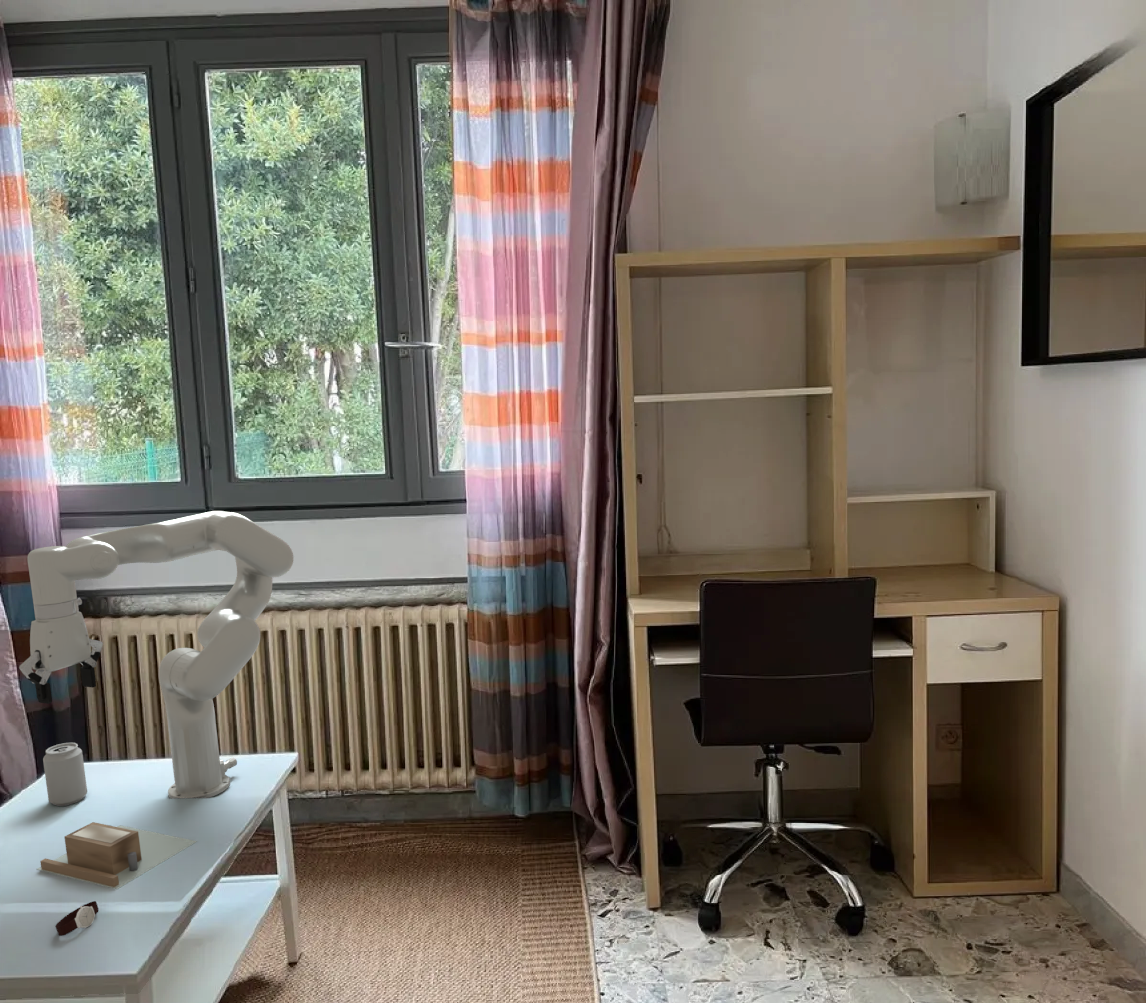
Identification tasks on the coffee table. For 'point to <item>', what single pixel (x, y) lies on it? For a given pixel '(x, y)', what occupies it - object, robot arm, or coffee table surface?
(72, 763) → the can
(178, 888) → the coffee table surface
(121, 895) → the coffee table surface
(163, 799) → the coffee table surface
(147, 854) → the wall board
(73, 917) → the watch
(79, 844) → the wooden box
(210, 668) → the robot arm
